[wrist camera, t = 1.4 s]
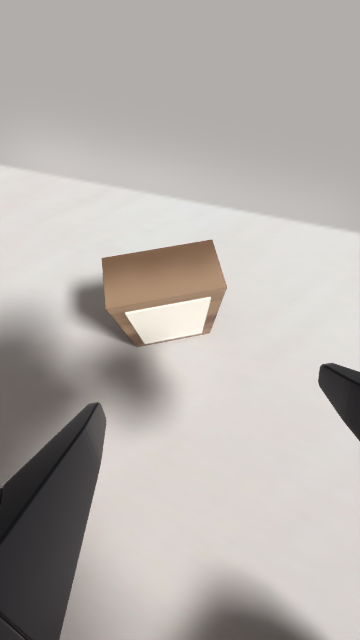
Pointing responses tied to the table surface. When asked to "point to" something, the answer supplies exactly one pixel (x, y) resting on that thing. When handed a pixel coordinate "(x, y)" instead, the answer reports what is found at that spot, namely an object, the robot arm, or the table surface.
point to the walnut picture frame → (164, 292)
